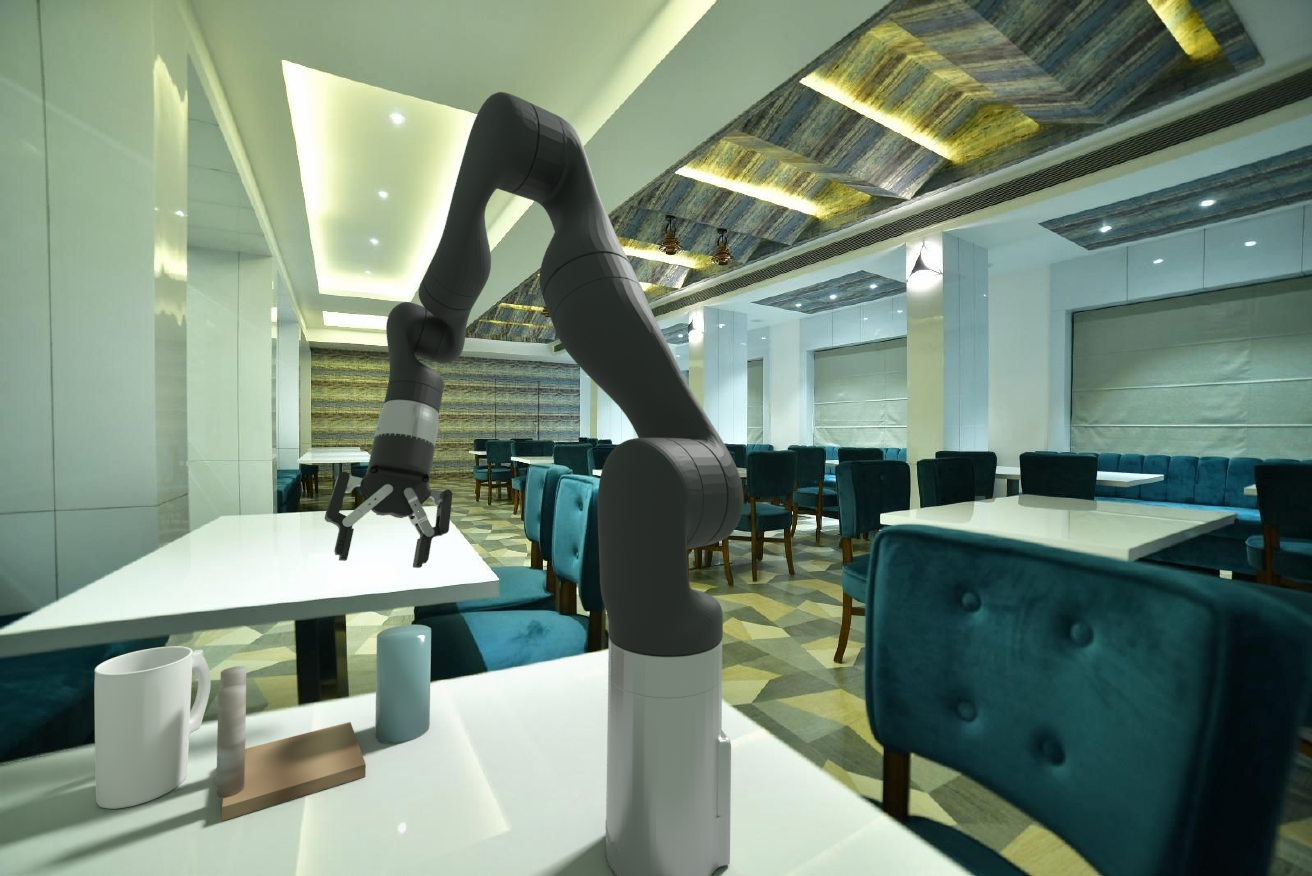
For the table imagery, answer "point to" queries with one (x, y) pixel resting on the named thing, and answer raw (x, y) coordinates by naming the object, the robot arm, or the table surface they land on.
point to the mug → (146, 722)
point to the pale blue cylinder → (403, 683)
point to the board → (276, 757)
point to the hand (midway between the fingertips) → (381, 563)
